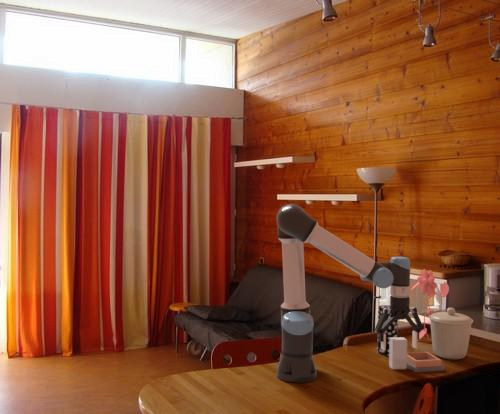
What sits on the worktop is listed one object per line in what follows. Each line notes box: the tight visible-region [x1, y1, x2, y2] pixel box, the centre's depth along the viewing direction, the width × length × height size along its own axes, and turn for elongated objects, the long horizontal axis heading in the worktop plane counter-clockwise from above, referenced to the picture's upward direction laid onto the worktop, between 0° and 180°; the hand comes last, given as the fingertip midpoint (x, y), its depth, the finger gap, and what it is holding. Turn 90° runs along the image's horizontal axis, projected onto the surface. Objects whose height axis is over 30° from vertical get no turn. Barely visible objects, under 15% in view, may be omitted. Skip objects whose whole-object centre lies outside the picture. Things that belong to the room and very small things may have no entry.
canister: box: [428, 307, 474, 360], centre depth 245 cm, size 18×18×21 cm
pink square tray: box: [407, 351, 445, 373], centre depth 231 cm, size 13×13×4 cm
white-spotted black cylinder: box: [376, 304, 399, 357], centre depth 248 cm, size 8×8×20 cm
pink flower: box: [410, 268, 450, 352], centre depth 262 cm, size 15×26×35 cm, turn 22°
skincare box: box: [388, 336, 408, 370], centre depth 228 cm, size 6×4×12 cm
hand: (399, 348), depth 227 cm, fingers open, 13 cm apart
